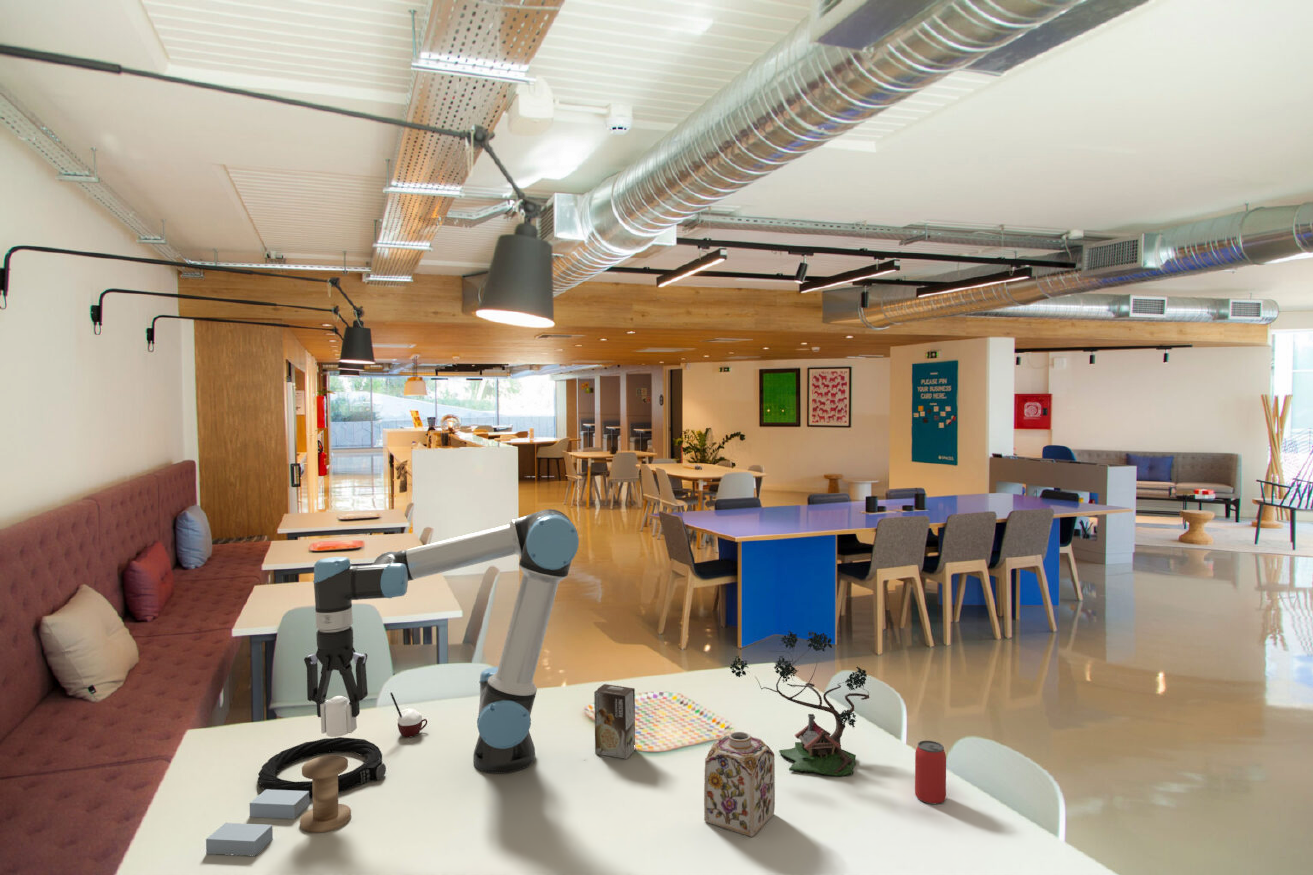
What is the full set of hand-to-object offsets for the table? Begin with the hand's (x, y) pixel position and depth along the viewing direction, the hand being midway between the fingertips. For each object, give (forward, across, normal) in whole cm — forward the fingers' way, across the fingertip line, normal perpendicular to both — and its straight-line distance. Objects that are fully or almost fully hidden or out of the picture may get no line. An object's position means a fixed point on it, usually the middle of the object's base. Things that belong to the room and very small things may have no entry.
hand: (339, 730), depth 171 cm
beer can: (+20, +132, +9) cm, 134 cm away
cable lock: (+16, -10, +13) cm, 23 cm away
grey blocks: (+15, -12, -12) cm, 23 cm away
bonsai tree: (+19, +105, +29) cm, 111 cm away
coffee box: (+18, +58, +28) cm, 67 cm away
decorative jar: (+19, +88, -2) cm, 90 cm away
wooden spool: (+16, 0, -8) cm, 18 cm away
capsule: (0, 0, 0) cm, 0 cm away
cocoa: (+16, +1, +36) cm, 39 cm away
